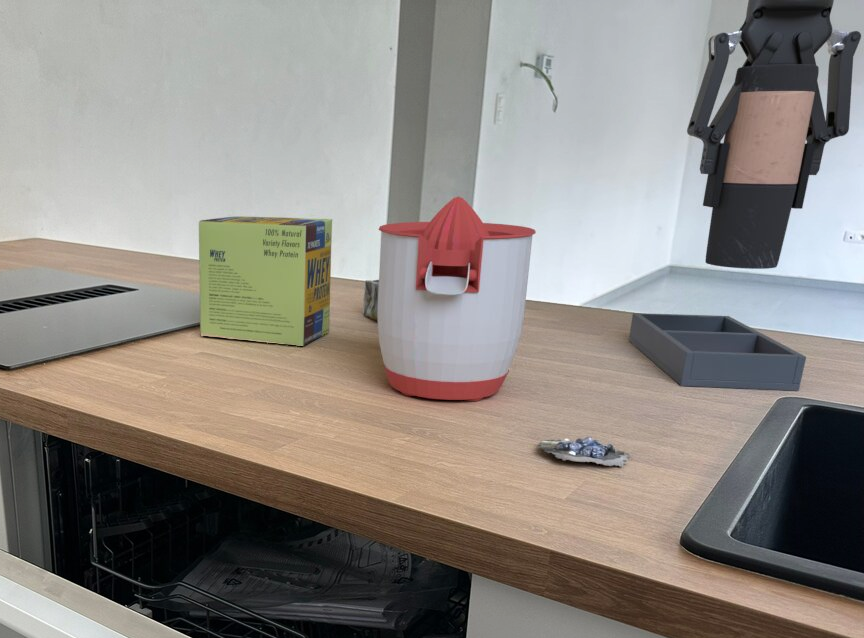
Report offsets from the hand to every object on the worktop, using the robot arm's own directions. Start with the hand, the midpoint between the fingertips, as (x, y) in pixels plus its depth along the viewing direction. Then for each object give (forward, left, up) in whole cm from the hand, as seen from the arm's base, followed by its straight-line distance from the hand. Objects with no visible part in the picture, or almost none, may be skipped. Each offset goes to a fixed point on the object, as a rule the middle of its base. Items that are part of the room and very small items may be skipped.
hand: (751, 206), depth 93 cm
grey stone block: (+35, -23, -19) cm, 45 cm away
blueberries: (+21, +31, -19) cm, 42 cm away
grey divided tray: (0, -6, -19) cm, 20 cm away
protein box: (+55, -13, -19) cm, 59 cm away
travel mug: (0, 0, -6) cm, 6 cm away
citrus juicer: (+32, +12, -19) cm, 39 cm away
